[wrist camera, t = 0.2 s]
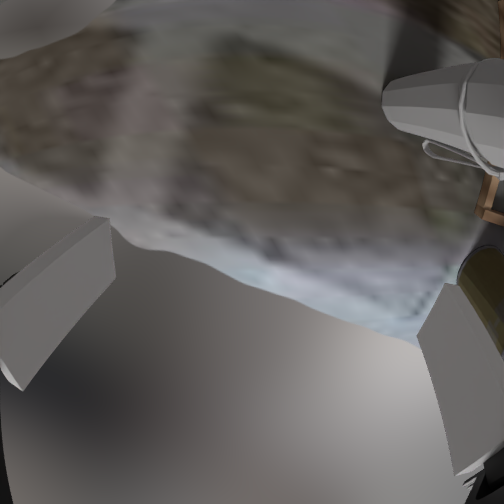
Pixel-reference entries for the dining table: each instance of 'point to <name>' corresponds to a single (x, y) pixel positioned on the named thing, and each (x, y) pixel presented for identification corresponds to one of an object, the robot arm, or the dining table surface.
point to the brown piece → (491, 181)
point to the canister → (486, 289)
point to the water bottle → (454, 110)
